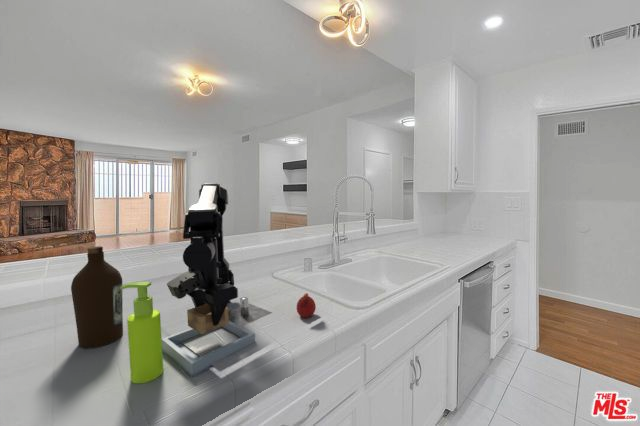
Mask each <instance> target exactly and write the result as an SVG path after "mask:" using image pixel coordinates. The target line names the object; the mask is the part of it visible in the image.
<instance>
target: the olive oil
mask: <svg viewBox="0 0 640 426" xmlns="http://www.w3.org/2000/svg"><path fill="white" fill-rule="evenodd" d="M103 249H104V247H103V246H102V245H99V246H98V245H97V246H91V247H87V249H86V250H87V253H86V255H87V263H86V264H85V265H84V266H83V268H81V269H80V271H78V272H77V273H76V274H75V276H74V277H73V278H72V281H71V285H70V289H71V290H70V292H71V298H72V305H73V310H74V318H75V325H76V333H77V342H78V343H77V344H78V346H79V348H83V349H94V348H99V347H103V346H107V345H109V344H111V343H114V342H115V341H117V340H119V339H120V338H121V337H122V336H123V334H124V324H123V323H124V322H123V320H124V319H123V317H124V316H123V312H124V311H123V289H121V288H120V287H122V286H123V277H122V275H121V272H120V271H119V270H118V269H117V268H115V267H114V266H113V265H111V264H110V263H109V262H107V261H106V260H105V254H104V253H105V251H103Z"/></svg>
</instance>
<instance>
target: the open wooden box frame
mask: <svg viewBox="0 0 640 426" xmlns="http://www.w3.org/2000/svg"><path fill="white" fill-rule="evenodd" d="M228 311H229V308H228V307H227V306H226V308H225V310H224V313H223V315H222V317H221V319H220V322H219V324H218V325H216V326H214V325H213V321H212V316H211V310H210V306H209V305H207V304H204V305H201V306H198V307H195V306H194V307H192V308H189V309H187V311H186V314H187V326H188V327H189V328H192V329H194V330H195V331H197V332H199V333H200V334H199V335H204V334H207V333H209V332H211V331H214V330H217V329H219V328H221V327H222V326H224V325H226V324H229V315H228ZM222 328H223V327H222Z"/></svg>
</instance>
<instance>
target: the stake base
mask: <svg viewBox="0 0 640 426" xmlns="http://www.w3.org/2000/svg"><path fill="white" fill-rule="evenodd" d="M239 301H240V302H239V304H240V306H239V307H236V308H233V309H231V310H228V315H229V321H231V322H233V323H235V324H237V325H239V326H241V327H243V326H245V325H248V324H249V323H252V322H255V321H257V320H259V319H261V318H263V317H266V316H268V315H270V314H273V312H271V311H269V310H267V309H264V308H262V307H259V306H256V305H255V304H252V303H249V297H247V296H243V297H240V298H239Z"/></svg>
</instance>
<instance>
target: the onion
mask: <svg viewBox="0 0 640 426" xmlns="http://www.w3.org/2000/svg"><path fill="white" fill-rule="evenodd" d="M296 312H297V314H298V315H299V316H300V317H301V318H304V319H306V318H307V319H308V318H311V317H312V315H314V314H315V312H316V302H315V301H314V299H313V297H311V296H309V293H308V292H305V293H304V294H303V296H301V297H300V298H299V300H298V301H297V303H296Z"/></svg>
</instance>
